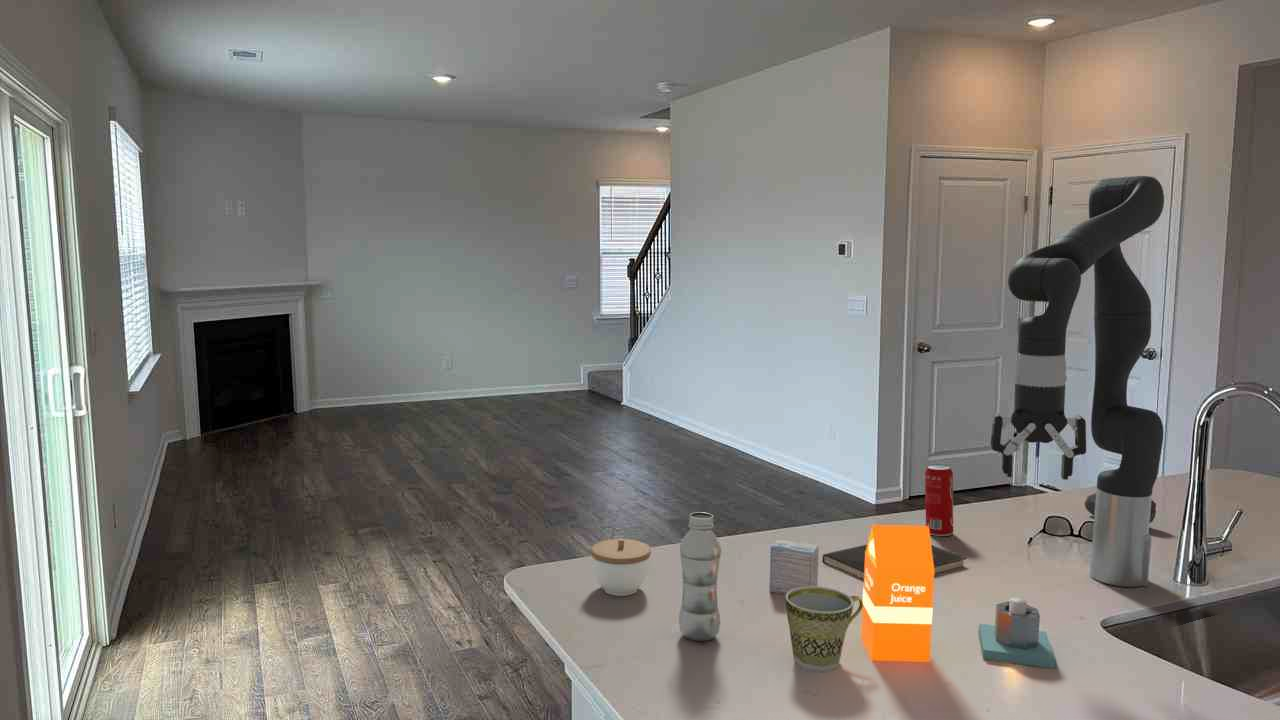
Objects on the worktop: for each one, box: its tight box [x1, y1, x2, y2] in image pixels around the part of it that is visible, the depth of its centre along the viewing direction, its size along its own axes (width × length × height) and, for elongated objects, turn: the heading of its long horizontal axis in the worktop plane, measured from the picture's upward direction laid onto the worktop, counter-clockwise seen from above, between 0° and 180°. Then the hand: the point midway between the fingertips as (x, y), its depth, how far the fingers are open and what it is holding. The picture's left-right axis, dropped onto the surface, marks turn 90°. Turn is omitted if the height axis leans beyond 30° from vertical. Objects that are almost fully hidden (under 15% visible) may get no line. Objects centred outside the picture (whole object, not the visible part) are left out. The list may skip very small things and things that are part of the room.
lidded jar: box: [590, 538, 652, 597], centre depth 162 cm, size 11×11×9 cm
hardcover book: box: [822, 544, 967, 579], centre depth 178 cm, size 16×23×2 cm
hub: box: [994, 601, 1041, 650], centre depth 140 cm, size 6×6×5 cm
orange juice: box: [860, 524, 935, 663], centre depth 138 cm, size 8×9×20 cm
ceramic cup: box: [784, 586, 863, 673], centre depth 135 cm, size 13×10×10 cm
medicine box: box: [769, 539, 820, 595], centre depth 162 cm, size 8×4×9 cm, turn 65°
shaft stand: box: [978, 597, 1056, 669], centre depth 140 cm, size 10×10×8 cm
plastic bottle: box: [678, 511, 722, 642], centre depth 142 cm, size 6×7×20 cm
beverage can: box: [924, 463, 954, 537], centre depth 196 cm, size 6×6×15 cm
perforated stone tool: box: [1084, 492, 1157, 525], centre depth 206 cm, size 15×5×7 cm, turn 37°
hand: (1036, 477), depth 149 cm, fingers open, 8 cm apart
